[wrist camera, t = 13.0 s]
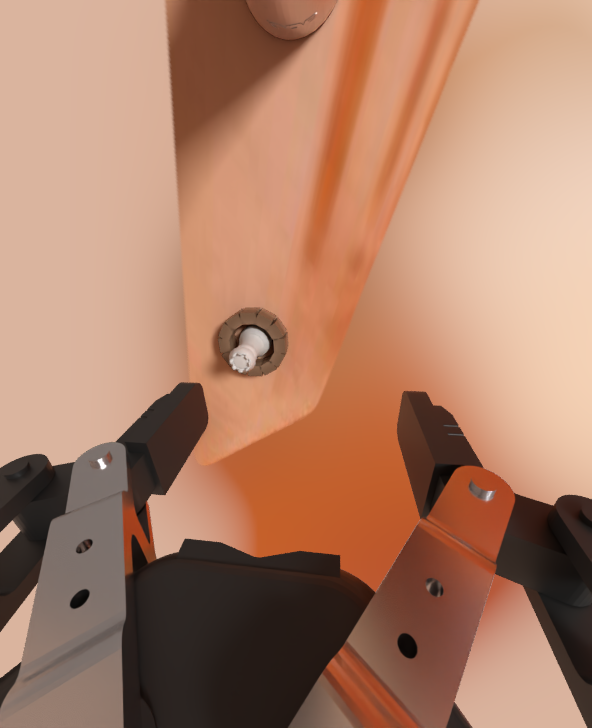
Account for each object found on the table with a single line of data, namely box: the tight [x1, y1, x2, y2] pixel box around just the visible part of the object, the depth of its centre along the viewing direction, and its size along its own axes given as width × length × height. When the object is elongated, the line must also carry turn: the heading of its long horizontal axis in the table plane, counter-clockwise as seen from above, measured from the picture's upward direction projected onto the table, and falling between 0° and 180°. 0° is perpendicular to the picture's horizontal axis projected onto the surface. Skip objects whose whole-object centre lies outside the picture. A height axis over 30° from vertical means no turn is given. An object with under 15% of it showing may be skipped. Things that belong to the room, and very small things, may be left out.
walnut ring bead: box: [218, 308, 288, 376], centre depth 39 cm, size 9×9×2 cm
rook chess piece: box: [229, 325, 272, 373], centre depth 36 cm, size 4×4×8 cm
